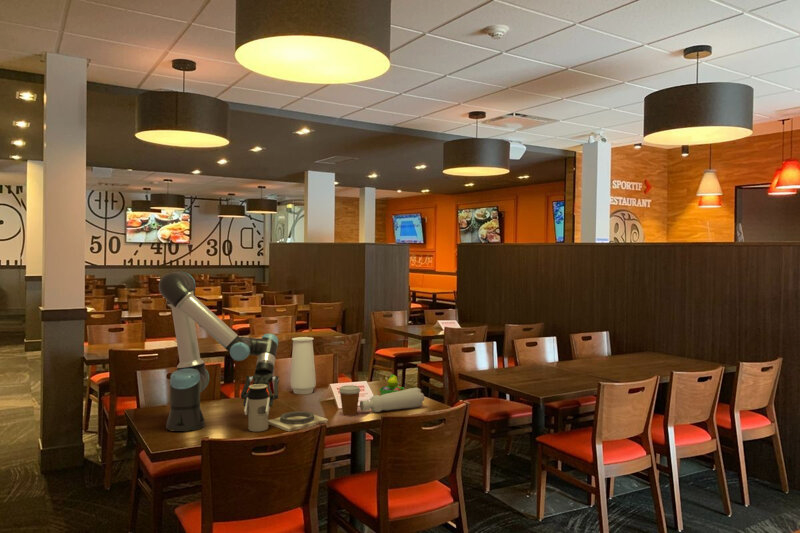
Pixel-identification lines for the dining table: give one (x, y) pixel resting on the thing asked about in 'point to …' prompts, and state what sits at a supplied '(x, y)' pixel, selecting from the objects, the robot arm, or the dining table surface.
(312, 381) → the vase
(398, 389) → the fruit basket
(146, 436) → the dining table surface
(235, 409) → the dining table surface
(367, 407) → the bottle
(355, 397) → the disposable coffee cup
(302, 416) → the collar board
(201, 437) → the dining table surface
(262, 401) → the travel mug
